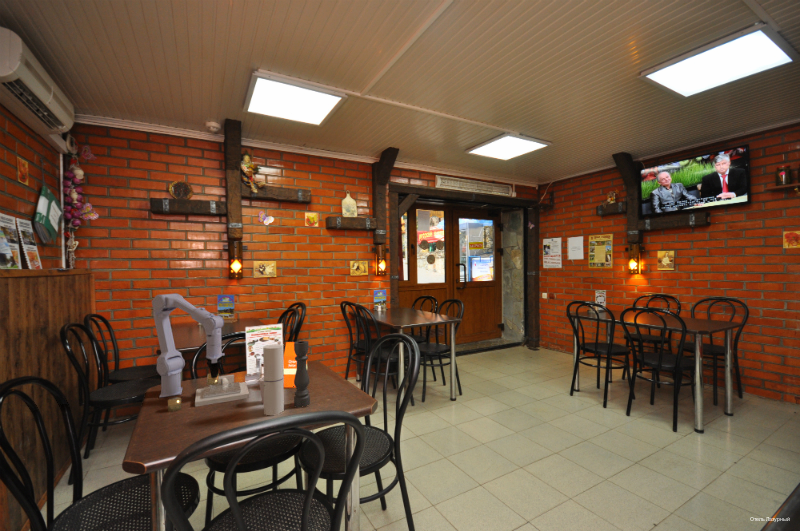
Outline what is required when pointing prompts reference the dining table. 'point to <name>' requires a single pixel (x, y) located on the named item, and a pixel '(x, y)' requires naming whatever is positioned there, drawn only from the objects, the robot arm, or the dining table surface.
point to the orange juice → (290, 365)
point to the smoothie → (262, 388)
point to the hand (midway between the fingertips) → (214, 376)
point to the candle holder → (301, 374)
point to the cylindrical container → (273, 379)
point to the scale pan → (222, 389)
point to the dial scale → (221, 398)
